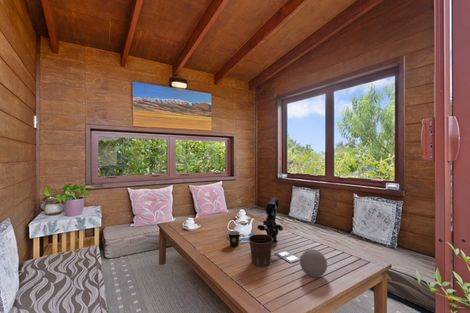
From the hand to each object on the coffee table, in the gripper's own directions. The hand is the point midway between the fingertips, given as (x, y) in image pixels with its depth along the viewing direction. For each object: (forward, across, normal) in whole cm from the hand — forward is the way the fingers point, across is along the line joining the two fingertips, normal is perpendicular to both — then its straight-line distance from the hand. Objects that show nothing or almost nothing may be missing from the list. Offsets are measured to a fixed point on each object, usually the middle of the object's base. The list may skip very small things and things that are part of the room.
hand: (269, 239), depth 170 cm
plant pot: (+18, +1, -12) cm, 22 cm away
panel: (+11, +14, +3) cm, 18 cm away
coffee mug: (+6, -28, 0) cm, 28 cm away
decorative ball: (+22, +34, -9) cm, 42 cm away
